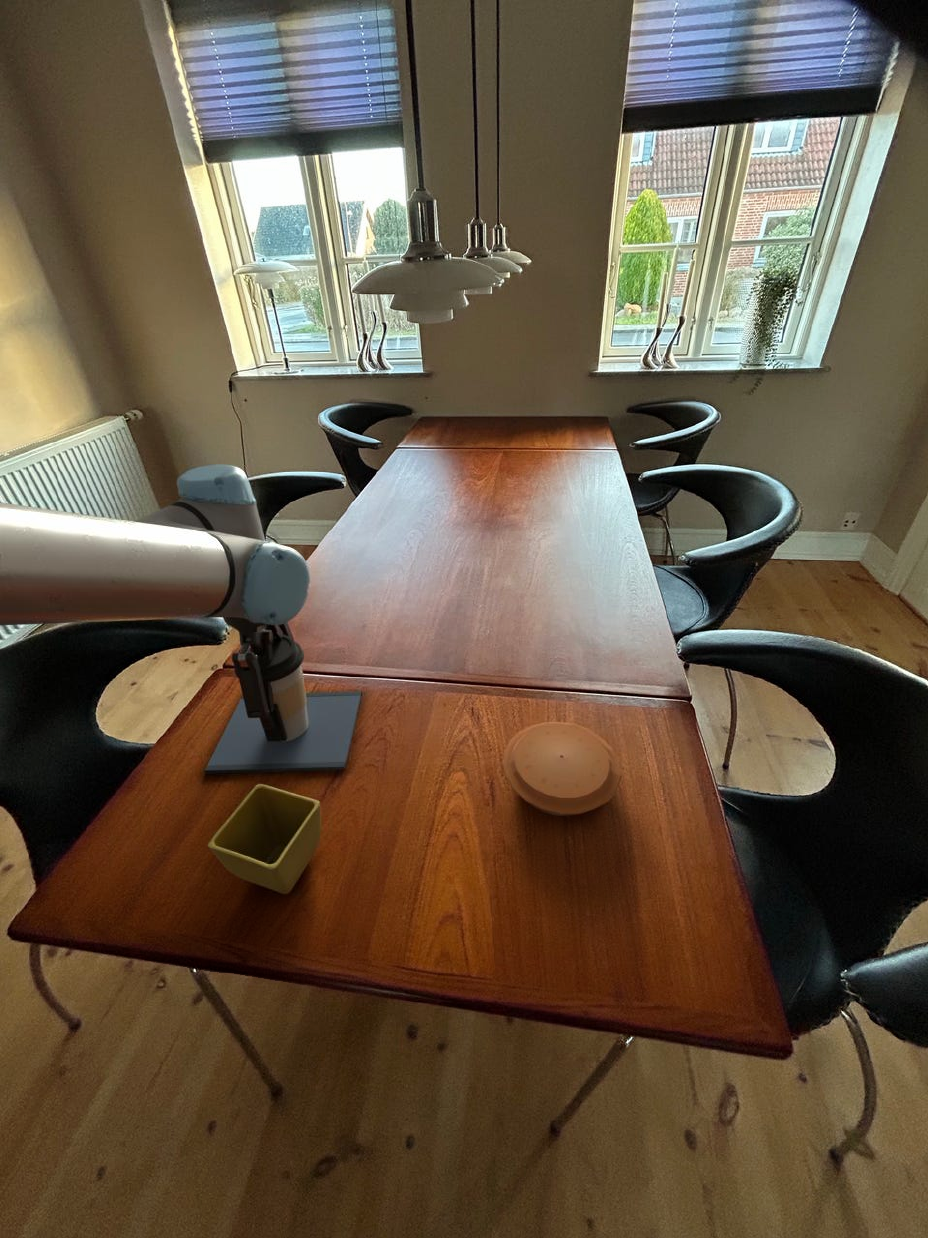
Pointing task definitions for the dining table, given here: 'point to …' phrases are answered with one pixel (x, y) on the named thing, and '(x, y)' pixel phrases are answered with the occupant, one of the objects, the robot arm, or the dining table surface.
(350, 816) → the dining table surface
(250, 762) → the cup mat
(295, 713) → the coffee cup
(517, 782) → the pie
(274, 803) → the flower pot
